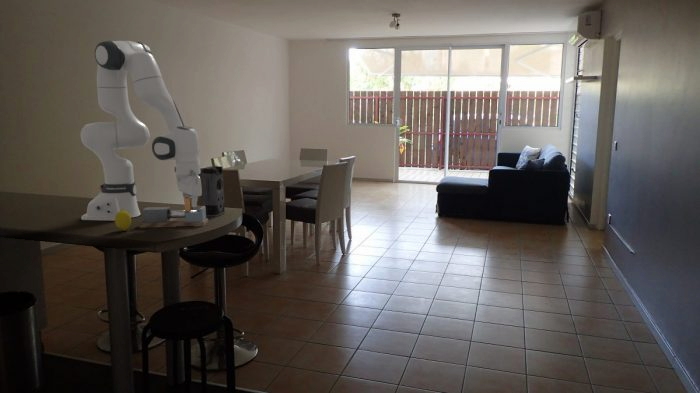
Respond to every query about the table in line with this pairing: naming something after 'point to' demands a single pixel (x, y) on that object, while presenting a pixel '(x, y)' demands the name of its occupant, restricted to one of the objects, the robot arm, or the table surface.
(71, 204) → the table surface
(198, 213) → the socket block
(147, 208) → the outer sleeve
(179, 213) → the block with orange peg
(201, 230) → the table surface
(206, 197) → the electronic device
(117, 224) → the lemon
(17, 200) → the table surface
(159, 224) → the bench board
